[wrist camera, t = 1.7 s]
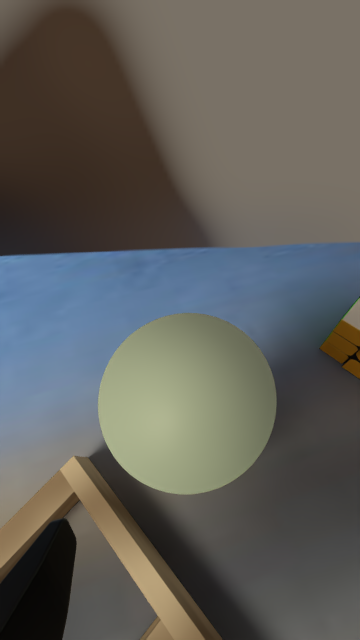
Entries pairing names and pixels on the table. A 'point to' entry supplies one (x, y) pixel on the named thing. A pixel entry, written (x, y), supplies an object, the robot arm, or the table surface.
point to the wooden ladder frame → (124, 537)
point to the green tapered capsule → (187, 403)
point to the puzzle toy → (346, 340)
